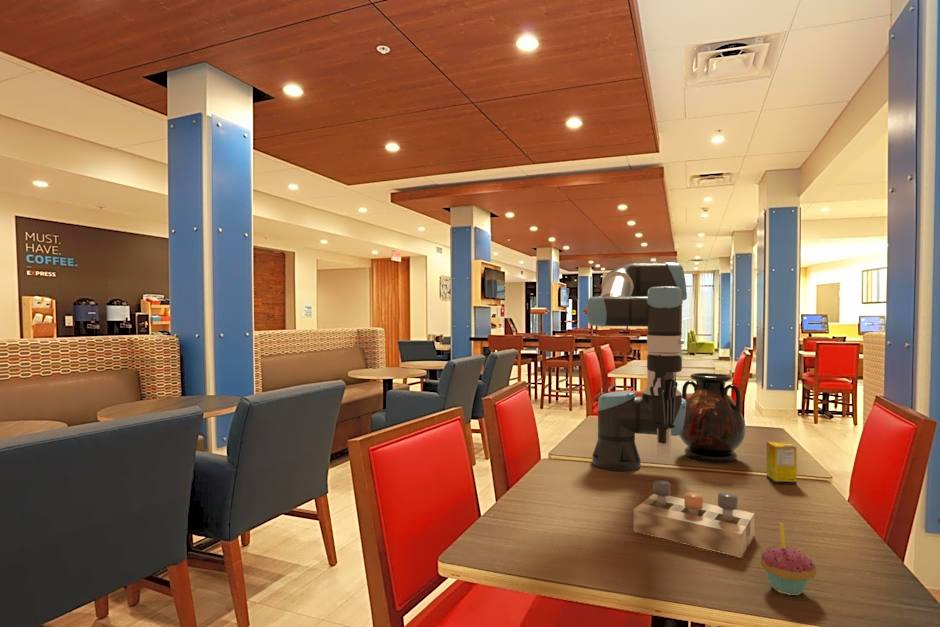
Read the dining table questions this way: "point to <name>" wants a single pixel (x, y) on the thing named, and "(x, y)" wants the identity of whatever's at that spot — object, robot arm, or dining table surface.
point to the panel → (695, 525)
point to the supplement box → (781, 463)
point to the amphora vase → (712, 419)
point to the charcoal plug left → (661, 491)
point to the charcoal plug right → (728, 504)
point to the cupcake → (787, 567)
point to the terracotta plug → (693, 502)
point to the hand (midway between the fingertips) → (663, 456)
